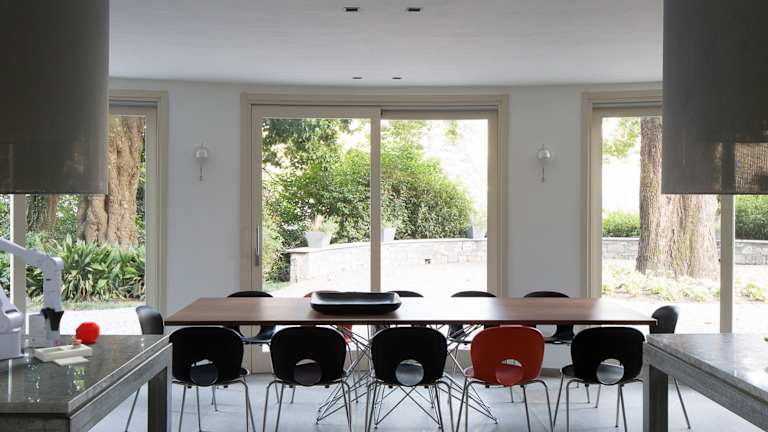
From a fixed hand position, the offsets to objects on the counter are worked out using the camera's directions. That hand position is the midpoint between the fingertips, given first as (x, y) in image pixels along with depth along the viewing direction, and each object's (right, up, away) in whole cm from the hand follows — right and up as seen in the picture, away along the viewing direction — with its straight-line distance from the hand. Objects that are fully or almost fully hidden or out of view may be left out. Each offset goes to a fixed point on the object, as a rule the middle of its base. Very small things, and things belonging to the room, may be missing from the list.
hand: (52, 329), depth 254 cm
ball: (+1, -10, +28) cm, 30 cm away
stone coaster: (+9, -10, -7) cm, 15 cm away
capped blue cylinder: (0, -3, 0) cm, 3 cm away
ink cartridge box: (-13, -10, +21) cm, 26 cm away
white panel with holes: (+3, -10, +2) cm, 10 cm away
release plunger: (+6, -9, +5) cm, 12 cm away
